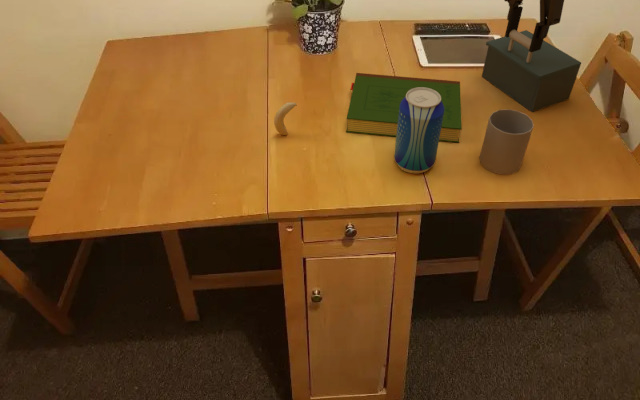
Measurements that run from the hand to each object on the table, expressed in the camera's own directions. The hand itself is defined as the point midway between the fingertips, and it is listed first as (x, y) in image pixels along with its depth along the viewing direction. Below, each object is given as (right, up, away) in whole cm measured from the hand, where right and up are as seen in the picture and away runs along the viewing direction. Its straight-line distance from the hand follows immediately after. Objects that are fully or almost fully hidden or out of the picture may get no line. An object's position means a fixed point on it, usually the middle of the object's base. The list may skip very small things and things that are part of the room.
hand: (522, 42), depth 130 cm
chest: (+4, -8, +11) cm, 14 cm away
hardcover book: (-26, -15, +3) cm, 31 cm away
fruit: (-53, -21, -3) cm, 57 cm away
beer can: (-26, -28, -10) cm, 39 cm away
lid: (+4, -2, +4) cm, 6 cm away
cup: (-8, -27, -10) cm, 30 cm away
